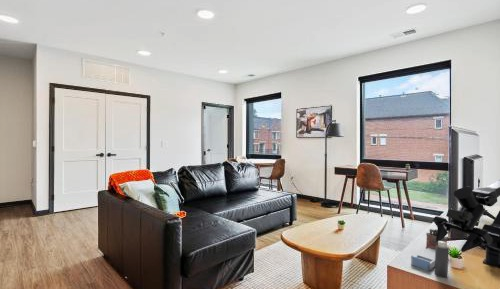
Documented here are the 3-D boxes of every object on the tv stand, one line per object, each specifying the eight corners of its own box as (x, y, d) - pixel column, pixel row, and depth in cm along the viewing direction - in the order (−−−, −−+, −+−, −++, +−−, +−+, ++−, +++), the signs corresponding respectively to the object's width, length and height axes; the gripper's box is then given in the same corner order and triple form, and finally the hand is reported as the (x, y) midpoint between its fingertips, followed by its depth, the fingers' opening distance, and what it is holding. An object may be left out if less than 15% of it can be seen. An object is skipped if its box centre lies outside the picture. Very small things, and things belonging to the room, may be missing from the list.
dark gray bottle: (436, 271, 103) (437, 239, 102) (449, 275, 100) (450, 242, 99) (432, 274, 100) (434, 241, 100) (445, 278, 97) (447, 245, 97)
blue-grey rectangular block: (427, 253, 119) (427, 245, 119) (444, 258, 114) (444, 250, 114) (411, 264, 108) (411, 256, 108) (429, 270, 103) (429, 262, 103)
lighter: (424, 249, 123) (425, 228, 123) (427, 247, 125) (427, 226, 125) (445, 255, 117) (446, 233, 117) (447, 253, 119) (448, 231, 119)
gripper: (436, 196, 111) (415, 224, 108) (489, 208, 93) (465, 242, 90) (449, 214, 114) (429, 242, 110) (502, 228, 96) (480, 262, 93)
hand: (448, 246), depth 101 cm, fingers open, 9 cm apart
